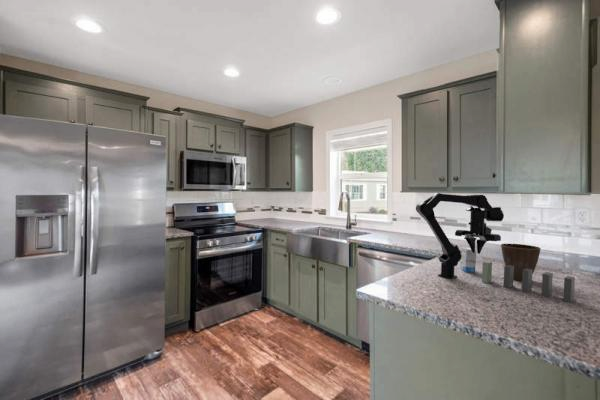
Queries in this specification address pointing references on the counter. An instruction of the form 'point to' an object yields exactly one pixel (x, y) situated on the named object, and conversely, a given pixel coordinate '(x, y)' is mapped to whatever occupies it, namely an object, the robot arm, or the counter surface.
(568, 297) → the domino end
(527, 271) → the domino
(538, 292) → the counter surface
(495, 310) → the counter surface
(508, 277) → the domino
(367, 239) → the counter surface
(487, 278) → the sage domino
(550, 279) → the domino
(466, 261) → the ink box
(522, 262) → the plant pot
